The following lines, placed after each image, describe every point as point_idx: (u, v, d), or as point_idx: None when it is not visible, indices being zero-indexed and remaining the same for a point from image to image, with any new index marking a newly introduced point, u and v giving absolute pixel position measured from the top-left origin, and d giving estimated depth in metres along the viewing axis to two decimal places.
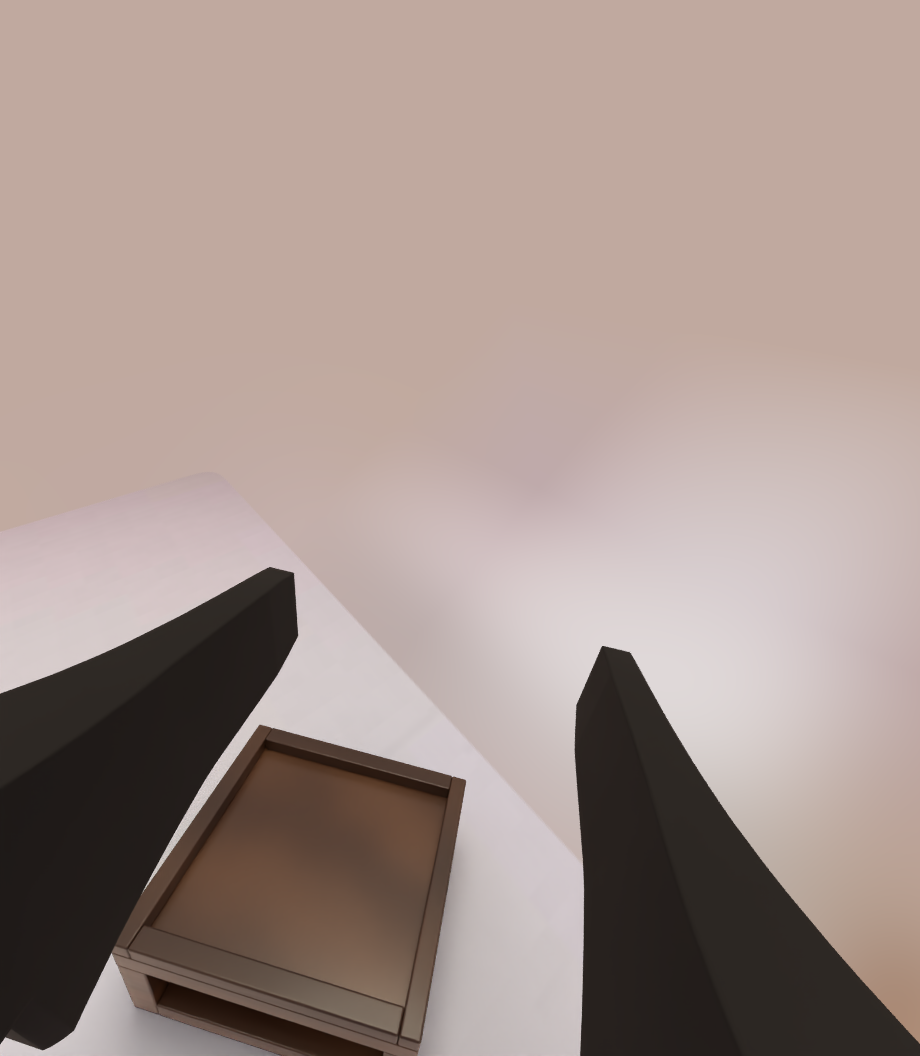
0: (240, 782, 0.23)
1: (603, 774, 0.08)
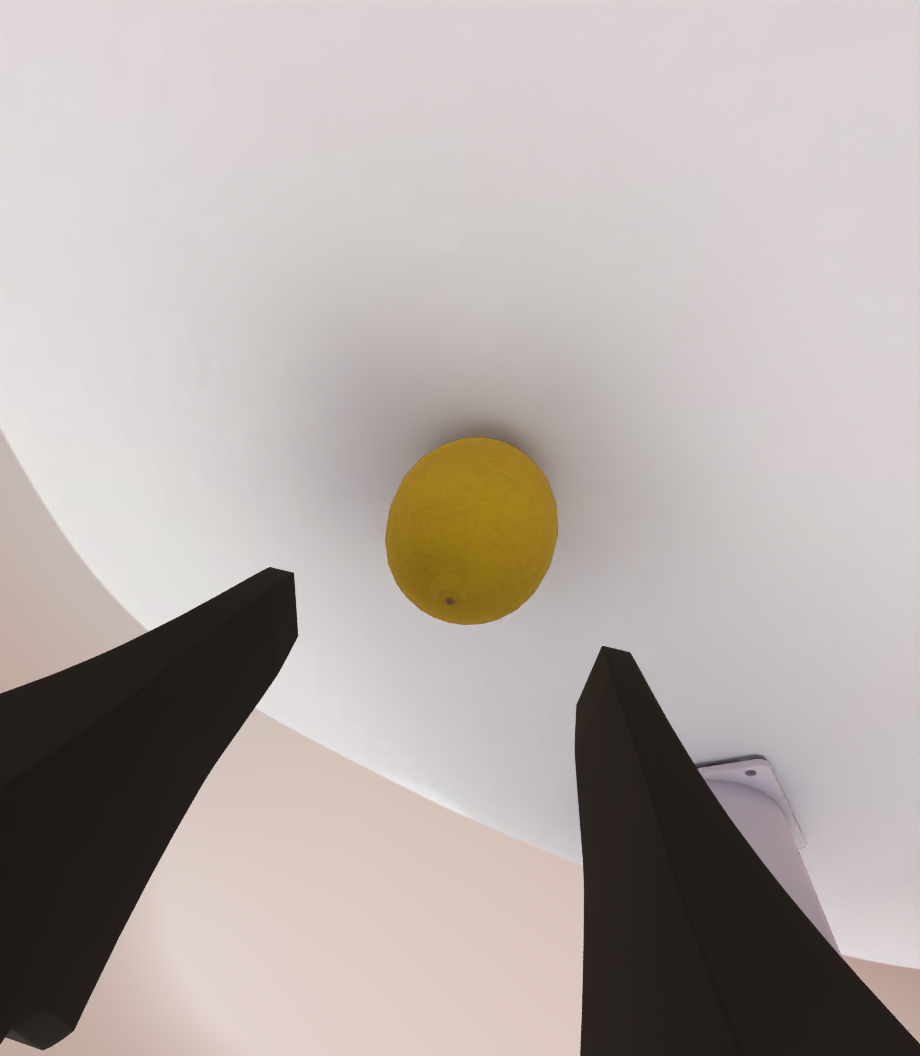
0: None
1: (603, 774, 0.08)
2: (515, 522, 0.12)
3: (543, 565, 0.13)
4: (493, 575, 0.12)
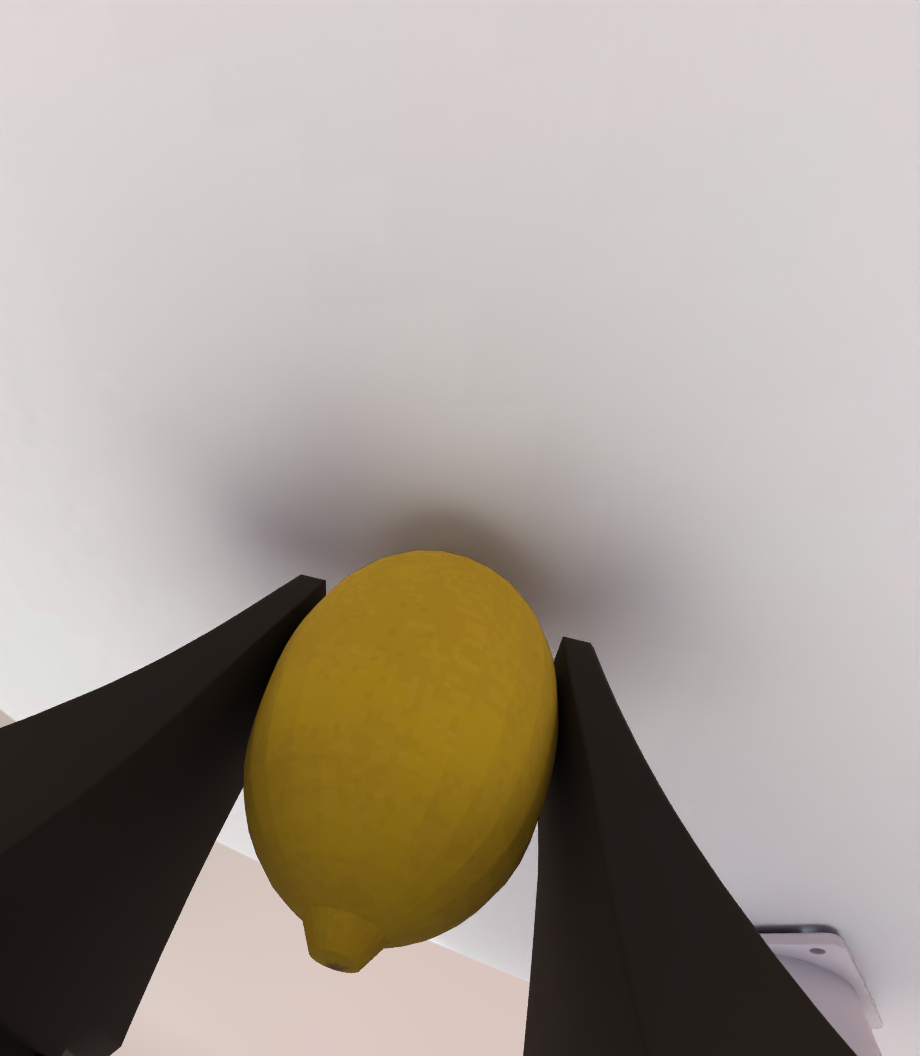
0: None
1: (557, 762, 0.08)
2: (472, 788, 0.06)
3: (531, 832, 0.07)
4: (426, 906, 0.06)
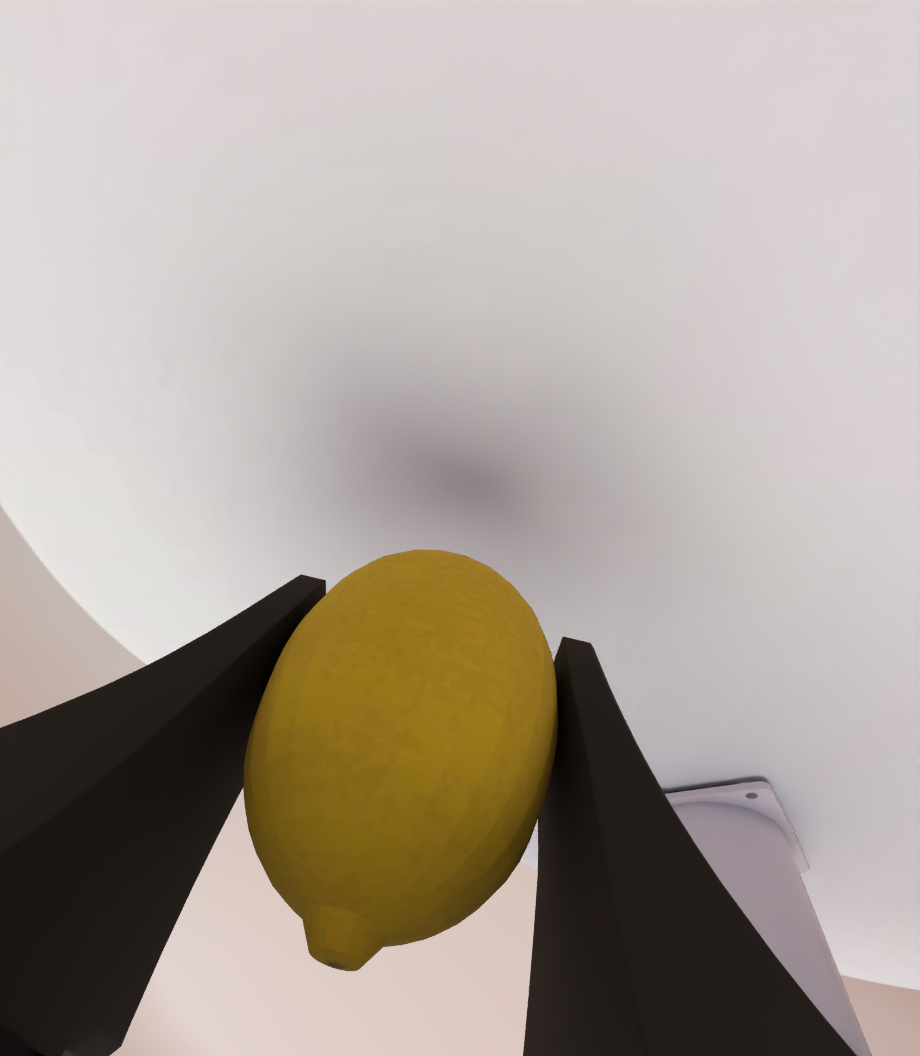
0: None
1: (557, 762, 0.08)
2: (472, 787, 0.06)
3: (531, 831, 0.07)
4: (425, 903, 0.06)
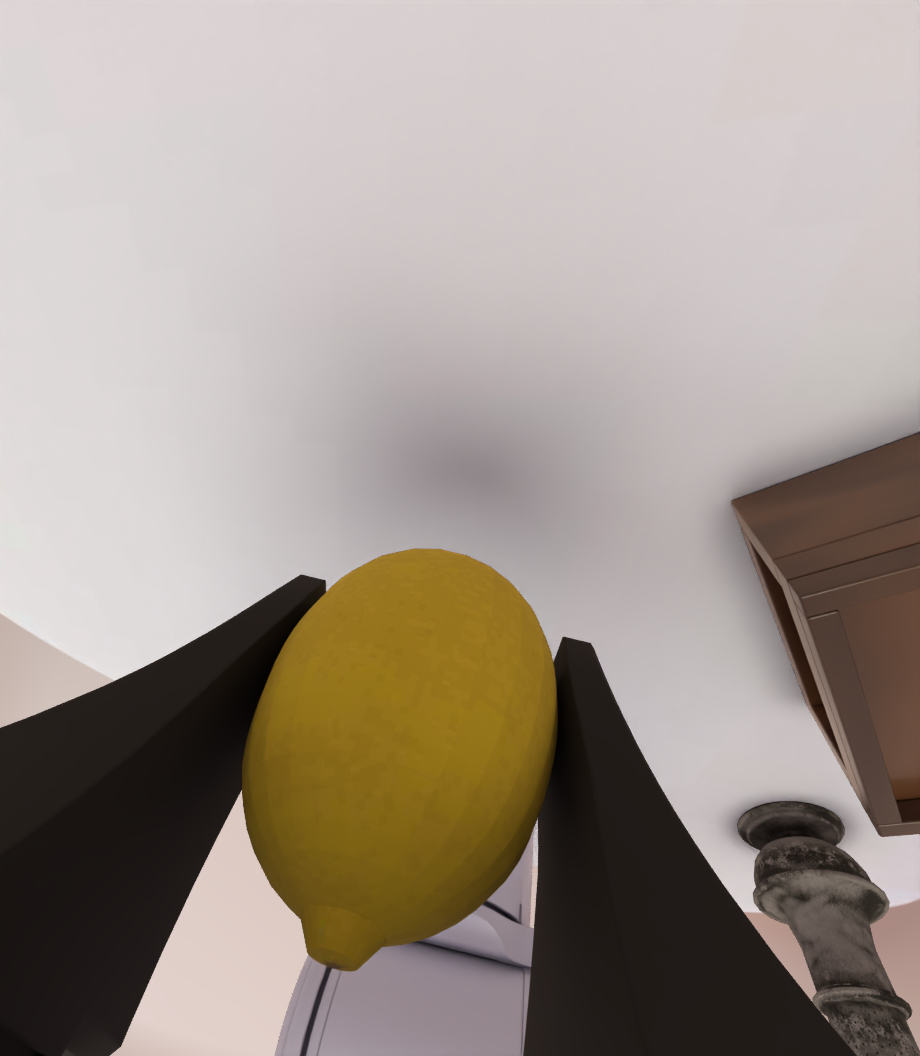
0: None
1: (557, 762, 0.08)
2: (472, 787, 0.06)
3: (530, 831, 0.07)
4: (424, 904, 0.06)
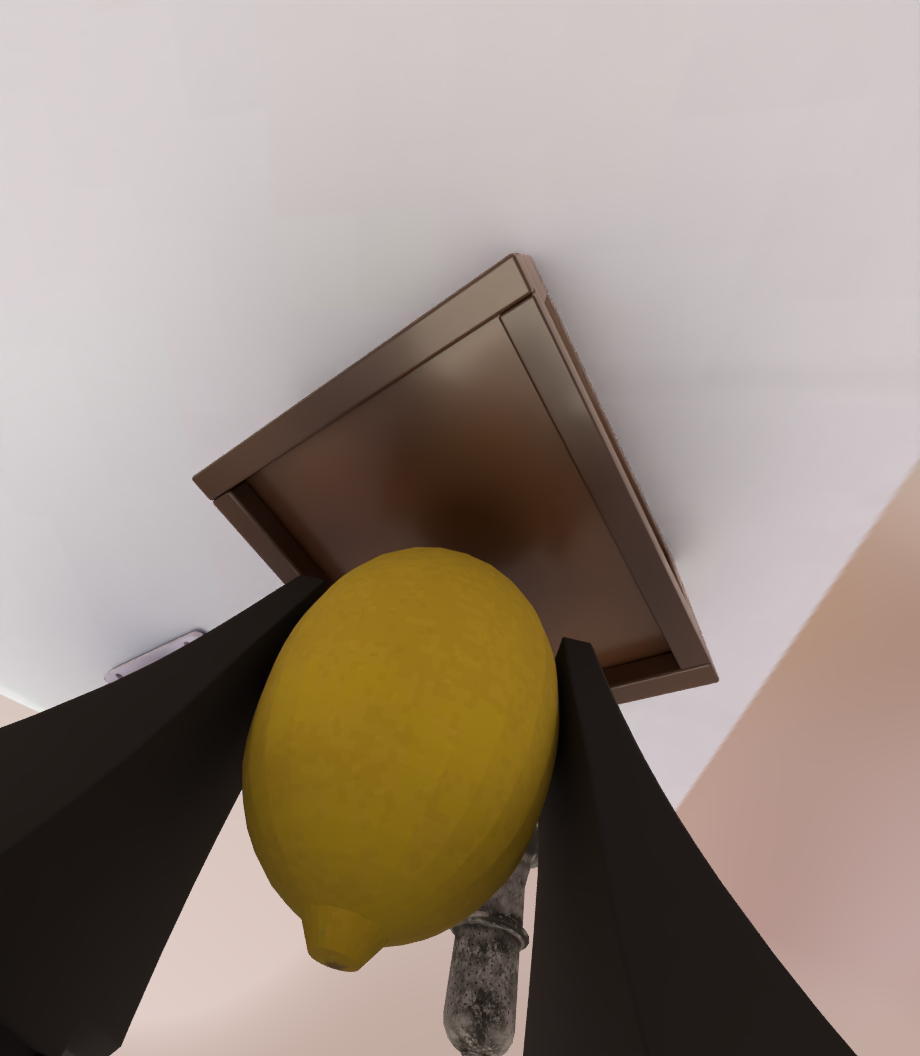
0: None
1: (557, 762, 0.08)
2: (473, 785, 0.06)
3: (532, 830, 0.07)
4: (426, 903, 0.06)
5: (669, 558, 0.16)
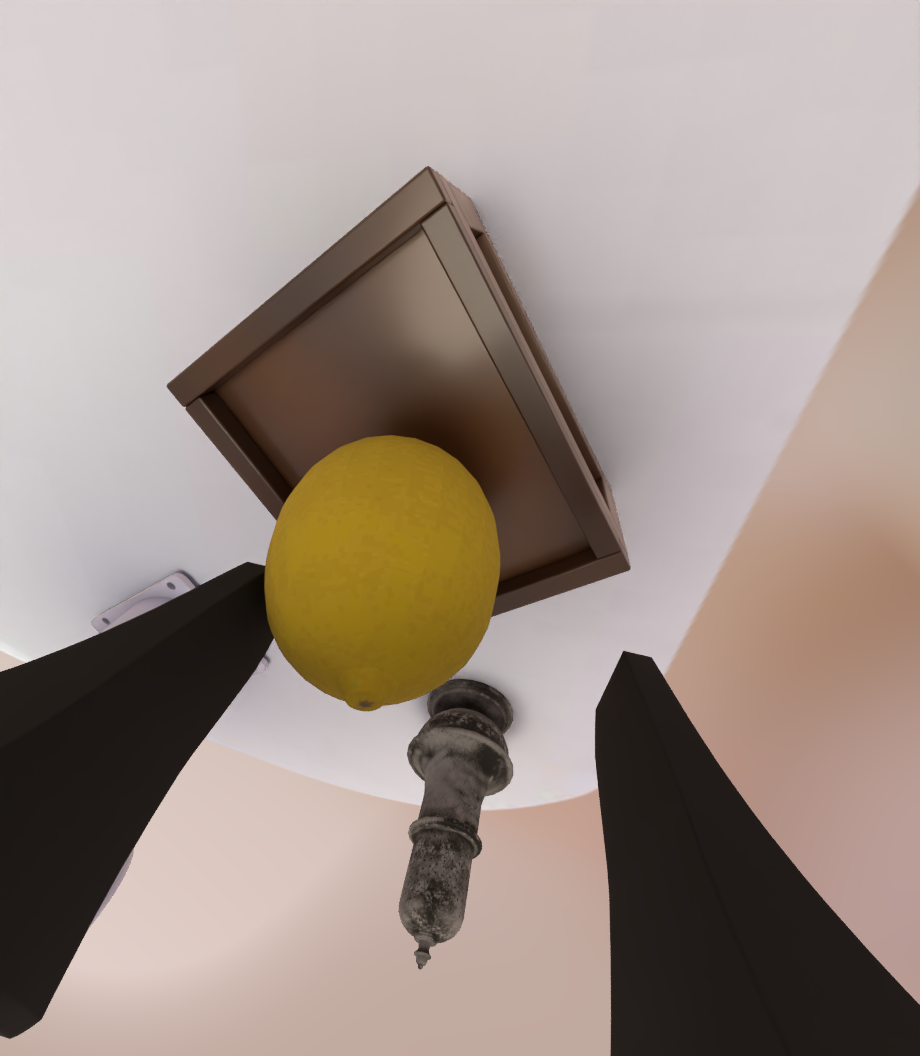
0: (353, 279, 0.12)
1: (628, 780, 0.08)
2: (445, 578, 0.09)
3: (487, 616, 0.10)
4: (422, 657, 0.09)
5: (602, 481, 0.18)
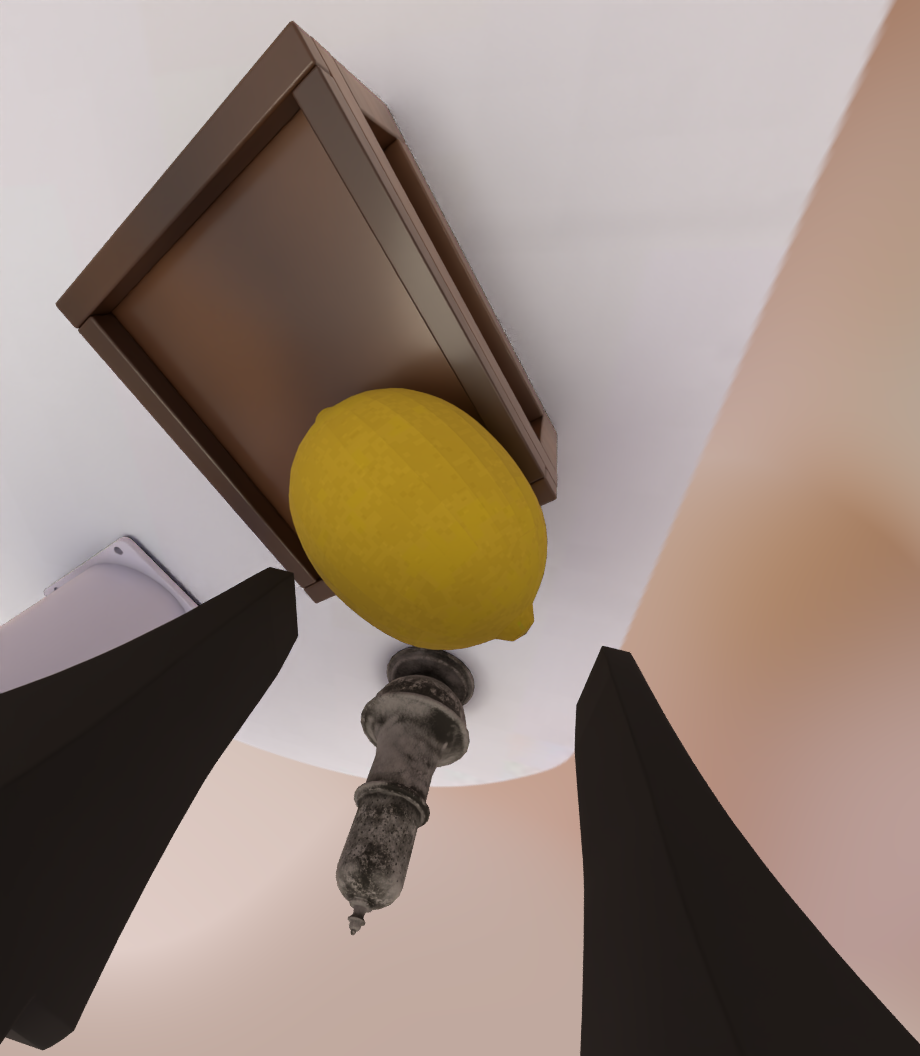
0: (233, 169, 0.11)
1: (603, 774, 0.08)
2: (539, 517, 0.10)
3: None
4: None
5: (542, 418, 0.17)
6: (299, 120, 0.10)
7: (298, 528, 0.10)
